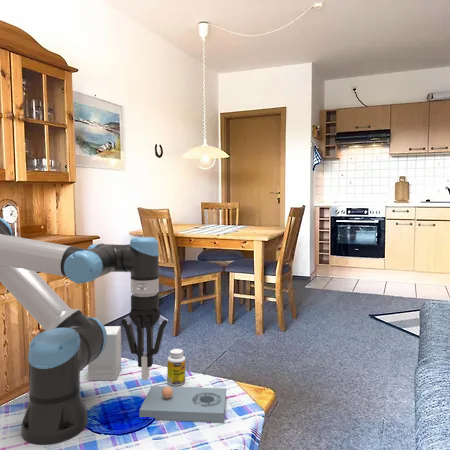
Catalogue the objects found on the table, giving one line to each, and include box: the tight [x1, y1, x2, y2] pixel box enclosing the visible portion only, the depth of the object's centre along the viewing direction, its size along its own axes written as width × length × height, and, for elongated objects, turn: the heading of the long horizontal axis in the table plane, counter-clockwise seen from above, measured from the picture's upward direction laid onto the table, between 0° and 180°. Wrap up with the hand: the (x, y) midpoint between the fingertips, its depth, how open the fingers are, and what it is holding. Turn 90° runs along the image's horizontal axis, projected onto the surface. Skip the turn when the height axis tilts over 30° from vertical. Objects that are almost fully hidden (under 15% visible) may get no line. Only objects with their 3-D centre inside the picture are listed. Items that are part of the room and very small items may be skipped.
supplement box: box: [87, 325, 122, 381], centre depth 132 cm, size 9×9×15 cm
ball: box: [162, 387, 173, 399], centre depth 112 cm, size 3×3×3 cm
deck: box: [138, 385, 227, 424], centre depth 112 cm, size 22×14×2 cm, turn 87°
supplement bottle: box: [166, 348, 186, 387], centre depth 127 cm, size 6×6×10 cm
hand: (145, 378), depth 112 cm, fingers closed
